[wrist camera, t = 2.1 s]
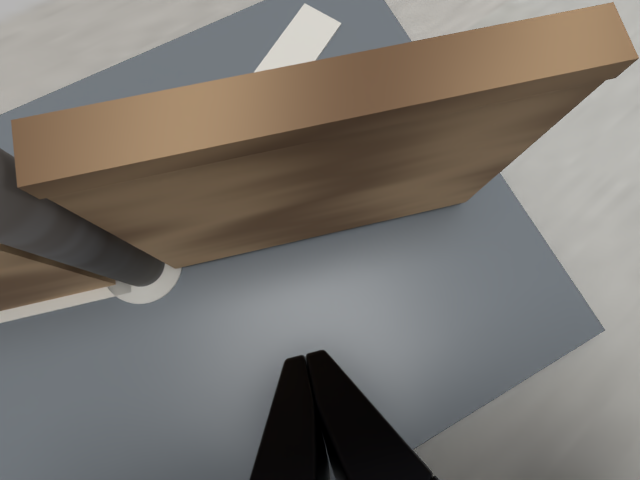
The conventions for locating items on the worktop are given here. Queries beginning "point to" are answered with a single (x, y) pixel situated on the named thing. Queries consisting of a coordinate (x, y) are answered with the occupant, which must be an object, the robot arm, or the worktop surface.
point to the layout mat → (277, 300)
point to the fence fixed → (58, 249)
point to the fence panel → (318, 137)
